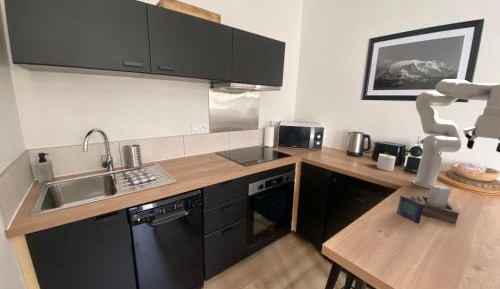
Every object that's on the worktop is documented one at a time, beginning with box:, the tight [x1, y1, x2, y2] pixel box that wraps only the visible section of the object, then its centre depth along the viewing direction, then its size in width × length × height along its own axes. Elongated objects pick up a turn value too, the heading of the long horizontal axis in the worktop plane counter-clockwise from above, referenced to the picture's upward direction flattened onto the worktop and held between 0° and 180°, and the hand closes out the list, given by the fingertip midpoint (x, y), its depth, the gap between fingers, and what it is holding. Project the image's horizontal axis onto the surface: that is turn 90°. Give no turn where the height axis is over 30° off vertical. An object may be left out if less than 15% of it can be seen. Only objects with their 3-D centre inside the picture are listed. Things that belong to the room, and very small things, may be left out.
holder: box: [416, 194, 460, 224], centre depth 97 cm, size 12×12×5 cm
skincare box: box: [426, 184, 452, 209], centre depth 96 cm, size 6×4×12 cm
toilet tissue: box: [376, 153, 397, 172], centre depth 159 cm, size 11×12×10 cm
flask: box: [396, 194, 424, 224], centre depth 92 cm, size 9×3×11 cm, turn 24°
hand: (483, 150), depth 96 cm, fingers open, 9 cm apart
